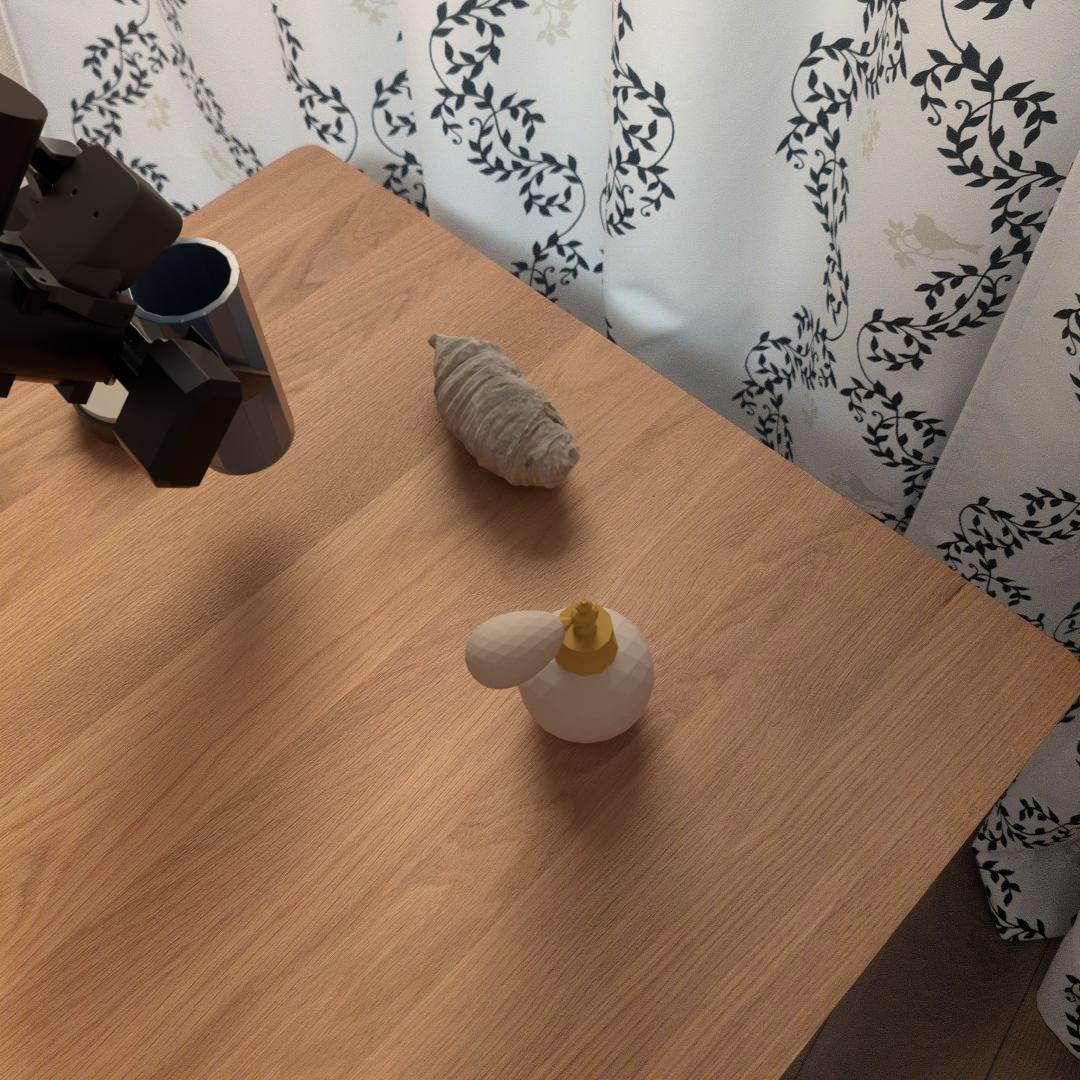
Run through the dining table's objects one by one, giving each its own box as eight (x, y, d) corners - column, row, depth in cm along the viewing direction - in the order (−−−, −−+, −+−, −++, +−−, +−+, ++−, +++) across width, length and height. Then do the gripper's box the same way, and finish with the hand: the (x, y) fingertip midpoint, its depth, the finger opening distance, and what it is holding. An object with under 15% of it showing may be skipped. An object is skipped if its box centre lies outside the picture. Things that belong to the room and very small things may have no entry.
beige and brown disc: (97, 466, 76) (82, 442, 73) (67, 372, 80) (52, 347, 78) (228, 417, 77) (217, 393, 75) (191, 328, 82) (180, 302, 80)
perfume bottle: (678, 690, 66) (693, 586, 55) (570, 819, 62) (565, 733, 52) (576, 617, 68) (572, 505, 58) (467, 737, 65) (442, 640, 54)
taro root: (478, 312, 78) (472, 270, 70) (591, 476, 76) (598, 453, 68) (399, 363, 77) (384, 327, 69) (511, 529, 76) (509, 512, 68)
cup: (264, 488, 67) (200, 335, 56) (176, 459, 68) (97, 305, 57) (313, 412, 70) (261, 253, 59) (227, 385, 71) (161, 225, 60)
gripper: (136, 264, 44) (404, 318, 57) (-72, 47, 52) (205, 138, 65) (35, 494, 48) (306, 496, 61) (-143, 260, 56) (130, 306, 69)
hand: (235, 350), depth 64 cm, fingers closed on cup, 6 cm apart
